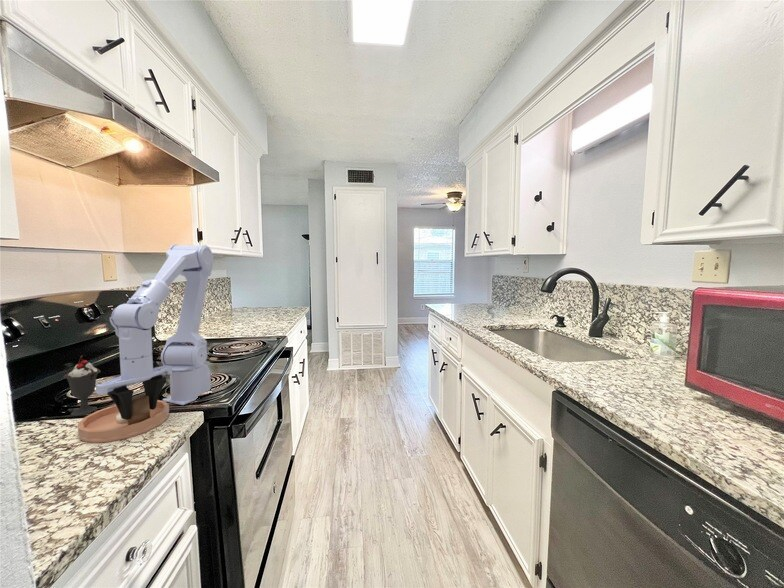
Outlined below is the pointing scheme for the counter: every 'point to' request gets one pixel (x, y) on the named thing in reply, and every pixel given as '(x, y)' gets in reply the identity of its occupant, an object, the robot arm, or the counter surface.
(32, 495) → the counter surface
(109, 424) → the groove tray
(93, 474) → the counter surface
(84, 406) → the sundae
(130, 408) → the robot arm
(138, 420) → the brown cylinder
